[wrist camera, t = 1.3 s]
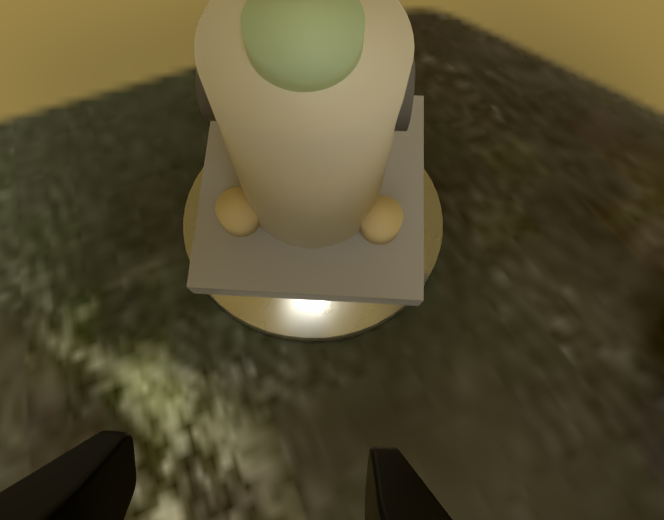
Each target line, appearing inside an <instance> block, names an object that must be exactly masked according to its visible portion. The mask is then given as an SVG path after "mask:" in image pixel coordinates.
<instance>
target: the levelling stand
mask: <svg viewBox="0 0 664 520" xmlns="http://www.w3.org/2000/svg"><path fill="white" fill-rule="evenodd" d="M203 169H204V167H203V168H202V170H201V171H200V173H199V175H198V176H197V178H196V179H195V181H194V183H193V186H192V188H191V190H190V192H189V195H188V199H187V202H186V205H185V212H184V218H183V236H184V242H185V248H186V252H187V255H188V258H189V261H190V259H191V252H192V245H193V238H194V232H195V225H196V218H197V211H198V204H199V197H200V190H201V183H202V176H203ZM442 235H443V218H442V211H441V205H440V201H439V198H438V195H437V192H436V189H435V187H434V185H433V183H432V181H431V179H430V177H429V175H428V174H427V172H426V171H425V169H424V285H425V283H426V281H427V279H428V277H429V275H430V273H431V271H432V269H433V267H434V265H435V263H436V260H437V257H438V254H439V251H440V247H441V241H442ZM208 295H209V296H210V298H211V299H212V300H213V301H214V302H215V303H216V304H217V305H218V306H219V307H220V308H221V309H222V310H223V311H224V312H226V313H227V314H228V315H230V316H231V317H232V318H234V319H235V320H236V321H238V322H240V323H241V324H243V325H245V326H247V327H248V328H250V329H252V330H255V331H257V332H260V333H262V334H265V335H267V336H271V337H274V338H278V339H282V340H287V341H295V342H303V343H323V342H331V341H338V340H343V339H347V338H351V337H355V336H358V335H361V334H363V333H366V332H368V331H371V330H373V329H375V328H377V327H379V326H381V325H382V324H384V323H386V322H388V321H389V320H391V319H392V318H393V317H395V316H396V315H397V314H399V313H400V312H401V311H402V310H404V309H405V308H406V307H407V306H408V305H393V304H375V303H357V302H339V301H321V300H303V299H286V298H268V297H250V296H232V295H214V294H208Z"/></svg>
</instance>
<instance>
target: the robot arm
mask: <svg viewBox="0 0 664 520" xmlns="http://www.w3.org/2000/svg"><path fill="white" fill-rule="evenodd" d="M135 485H136V466H135V455H134V444H133V438H132V436H131V434H130V433H128V432H125V431H108V430H107V431H101V432H100V433H98V434H96V435H94V436H93V437H91V438H89V439H88V440H86V441H84V442H83V443H81V444H79V445H78V446H76V447H74V448H73V449H71V450H70V451H68V452H66V453H65V454H63V455H61V456H60V457H58V458H56V459H55V460H53V461H51V462H50V463H48V464H46V465H45V466H43V467H41V468H40V469H38V470H37V471H35V472H33V473H32V474H30V475H28V476H27V477H25V478H23V479H22V480H20V481H18V482H17V483H15V484H13V485H12V486H10V487H8V488H7V489H5V490H4V491H2V492H0V520H124V518H125V515H126V512H127V510H128V507H129V504H130V501H131V499H132V496H133V493H134V489H135ZM365 520H452V519H451V517H450V516H449V515H448V513H447V512H446V511H445V510H444V508H443V507H442V506H441V504H440V503H439V502H438V500H437V499H436V498H435V496H434V495H433V494H432V493H431V491H430V490H429V489H428V487H427V486H426V485H425V483H424V482H423V481H422V480H421V478H420V477H419V476H418V474H417V473H416V472H415V470H414V469H413V468H412V467H411V465H410V464H409V463H408V461H407V460H406V459H405V457H404V456H403V455H402V454H401V452H400V451H399V450H398V449H397V448H394V447H379V446H373V447H371V449H370V450H369V457H368V467H367V478H366V489H365Z"/></svg>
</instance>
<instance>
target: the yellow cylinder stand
mask: <svg viewBox="0 0 664 520" xmlns="http://www.w3.org/2000/svg"><path fill="white" fill-rule="evenodd" d="M194 57H195V63H196V95H197V101H198V106H199V110H200V113H201V116H202V117H203V119H204V120H206V121H210V128H209V135H208V142H207V149H206V156H205V162H204V169H203V176H202V183H201V190H200V197H199V204H198V211H197V218H196V225H195V232H194V238H193V245H192V252H191V259H190V266H189V273H188V280H187V288H188V289H189V290H191V291H192V292H193V293H196V294H214V295H232V296H250V297H268V298H286V299H303V300H321V301H339V302H357V303H375V304H393V305H410V306H419V305H420V304H421V303H422V302H423V301H424V96H414V88H415V61H414V58H413V57H414V36H413V32H412V27H411V24H410V21H409V19H408V16H407V14H406V12H405V10H404V8H403V7H402V5H401V3H400V2H399V1H398V0H210V2H209V3H208V4H207V6H206V8H205V10H204V11H203V13H202V15H201V18H200V20H199V22H198V25H197V29H196V34H195V40H194Z"/></svg>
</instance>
